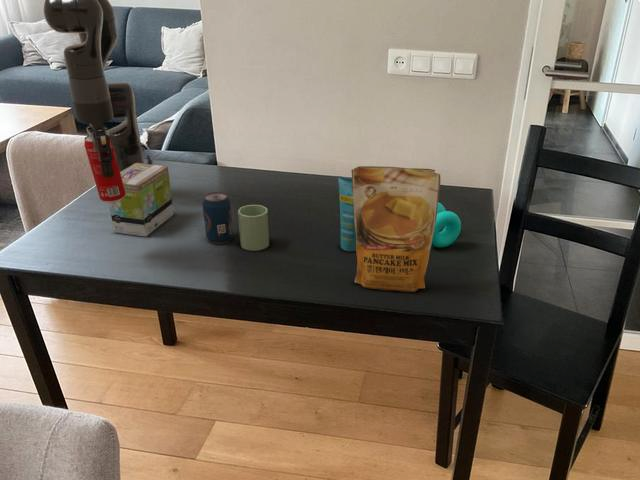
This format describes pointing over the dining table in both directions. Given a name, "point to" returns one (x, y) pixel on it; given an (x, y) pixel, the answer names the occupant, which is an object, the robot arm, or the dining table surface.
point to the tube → (347, 214)
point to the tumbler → (253, 227)
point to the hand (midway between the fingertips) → (106, 171)
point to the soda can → (217, 217)
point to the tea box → (142, 200)
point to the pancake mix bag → (394, 225)
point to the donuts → (450, 228)
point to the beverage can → (106, 187)
